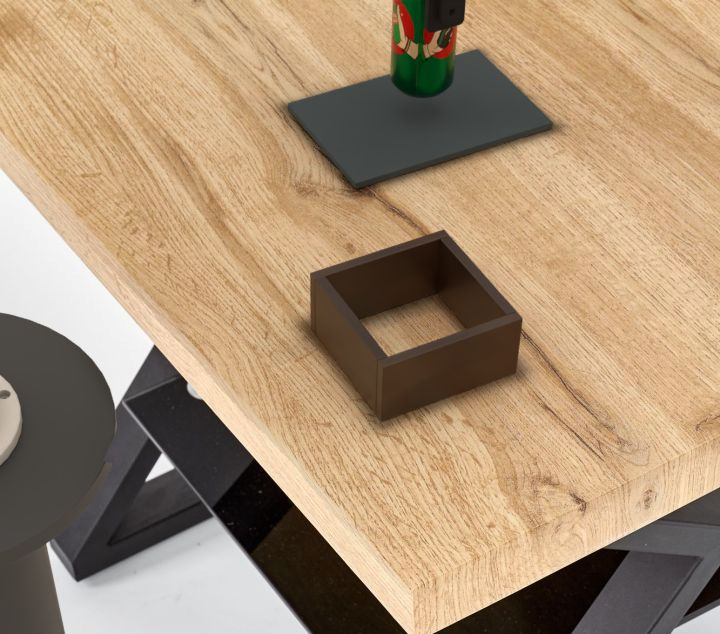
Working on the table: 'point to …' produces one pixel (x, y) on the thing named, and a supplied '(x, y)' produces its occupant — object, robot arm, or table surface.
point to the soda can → (420, 52)
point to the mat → (417, 121)
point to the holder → (425, 362)
